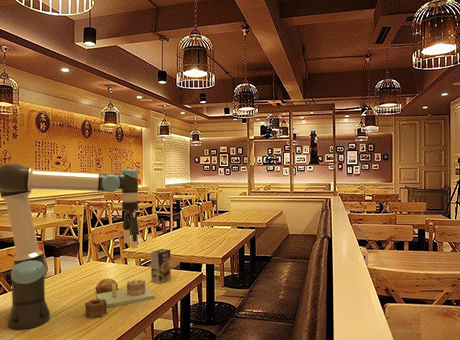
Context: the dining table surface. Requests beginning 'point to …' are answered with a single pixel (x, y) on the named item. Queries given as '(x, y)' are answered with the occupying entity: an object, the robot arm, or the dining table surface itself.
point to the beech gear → (136, 288)
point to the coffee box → (160, 266)
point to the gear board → (124, 296)
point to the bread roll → (105, 286)
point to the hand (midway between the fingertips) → (130, 245)
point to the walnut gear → (96, 308)
